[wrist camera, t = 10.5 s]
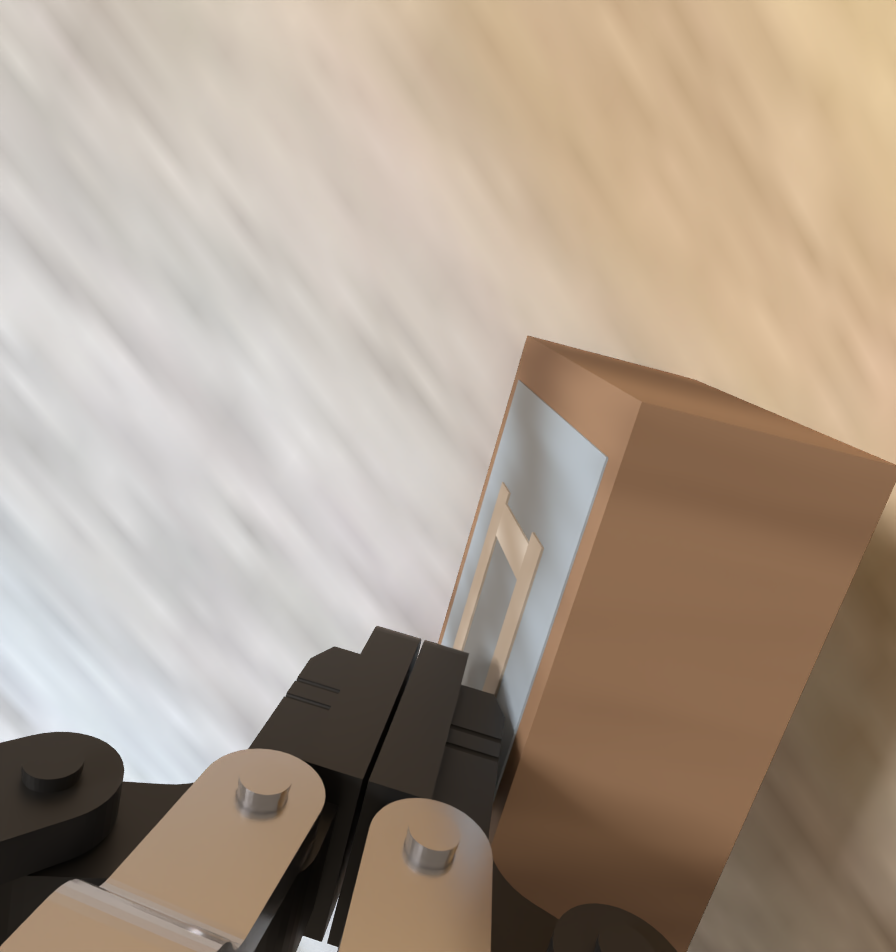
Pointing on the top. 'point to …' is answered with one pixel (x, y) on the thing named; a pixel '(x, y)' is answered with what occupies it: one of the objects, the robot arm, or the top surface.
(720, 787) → the walnut block
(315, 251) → the top surface
